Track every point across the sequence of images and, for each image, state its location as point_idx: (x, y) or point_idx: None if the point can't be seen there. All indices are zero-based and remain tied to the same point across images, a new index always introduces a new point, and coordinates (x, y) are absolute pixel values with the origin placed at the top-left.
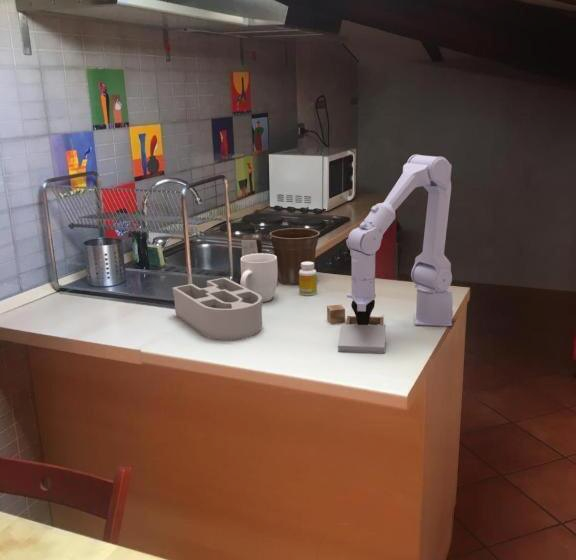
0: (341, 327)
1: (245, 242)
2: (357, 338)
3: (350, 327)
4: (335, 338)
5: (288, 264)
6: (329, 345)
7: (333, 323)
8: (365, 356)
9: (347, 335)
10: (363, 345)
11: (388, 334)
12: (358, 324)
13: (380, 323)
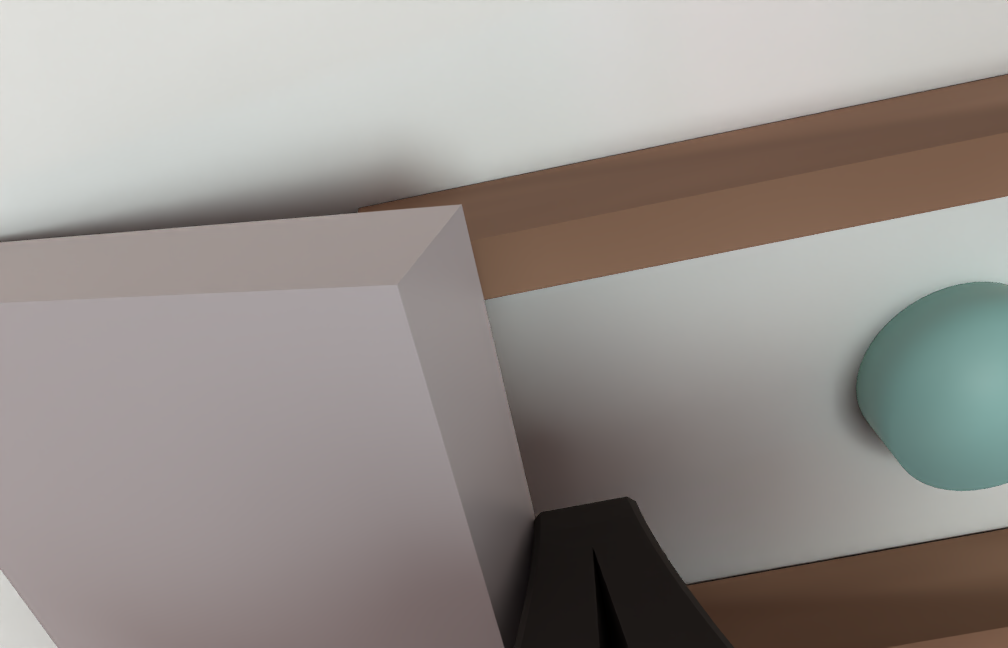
0: (289, 314)
1: None
2: (143, 582)
3: (363, 489)
4: (476, 17)
5: None
6: (85, 11)
7: None
8: (6, 596)
9: (120, 446)
10: (65, 636)
11: None
12: (529, 603)
13: (975, 638)
